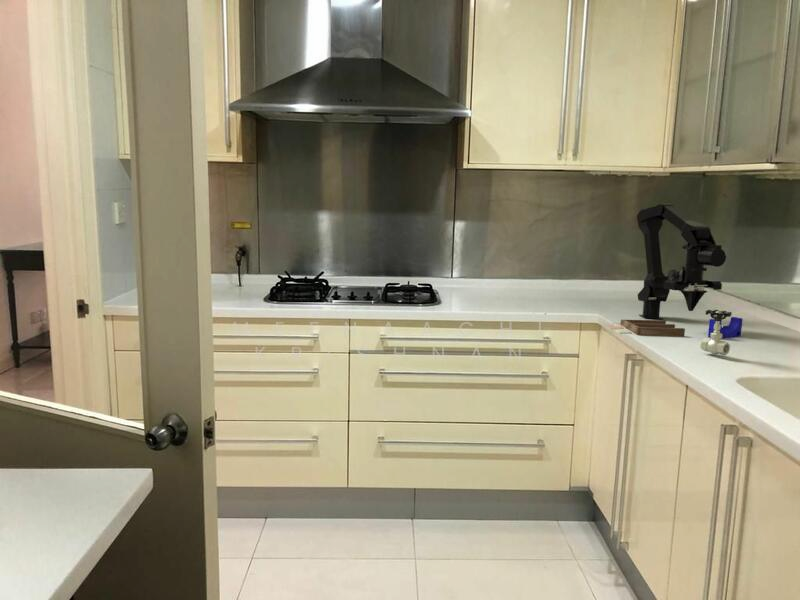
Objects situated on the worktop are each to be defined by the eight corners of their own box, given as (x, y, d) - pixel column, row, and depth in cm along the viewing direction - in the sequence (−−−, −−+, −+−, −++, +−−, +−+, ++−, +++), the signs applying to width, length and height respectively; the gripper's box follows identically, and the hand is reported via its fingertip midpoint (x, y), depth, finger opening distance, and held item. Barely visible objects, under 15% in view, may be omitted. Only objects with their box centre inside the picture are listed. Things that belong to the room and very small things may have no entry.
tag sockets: (605, 326, 220) (606, 319, 220) (664, 327, 221) (664, 320, 221) (621, 335, 205) (622, 327, 205) (684, 336, 206) (684, 328, 206)
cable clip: (727, 334, 213) (729, 316, 212) (740, 336, 209) (742, 318, 208) (703, 336, 207) (705, 318, 206) (716, 339, 203) (718, 320, 202)
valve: (710, 350, 187) (714, 309, 185) (732, 355, 181) (737, 312, 179) (696, 352, 183) (700, 310, 182) (718, 357, 178) (722, 314, 176)
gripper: (700, 261, 224) (696, 306, 226) (654, 261, 219) (650, 307, 221) (725, 264, 213) (720, 311, 216) (677, 264, 208) (673, 313, 210)
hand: (690, 310), depth 216 cm, fingers closed
